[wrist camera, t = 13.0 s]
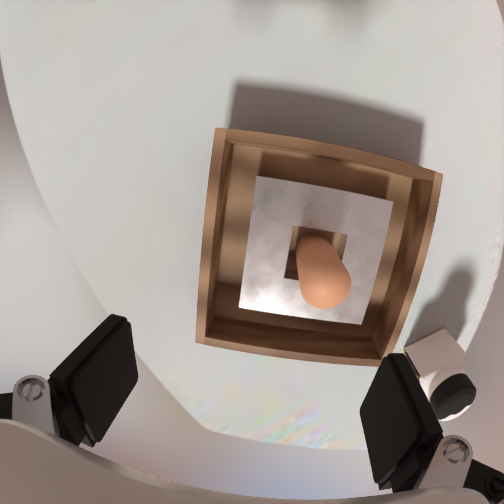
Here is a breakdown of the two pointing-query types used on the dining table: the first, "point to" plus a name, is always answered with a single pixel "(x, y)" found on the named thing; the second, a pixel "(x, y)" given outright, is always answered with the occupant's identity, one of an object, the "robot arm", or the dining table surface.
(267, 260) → the bore plate
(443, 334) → the medicine bottle
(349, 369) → the dining table surface
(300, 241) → the peg
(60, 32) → the dining table surface
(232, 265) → the open box
